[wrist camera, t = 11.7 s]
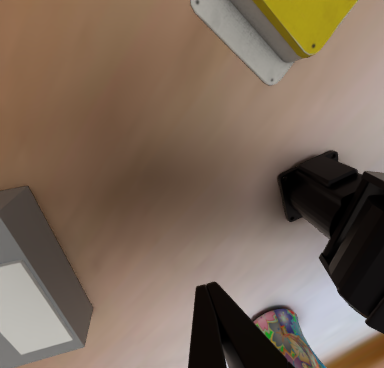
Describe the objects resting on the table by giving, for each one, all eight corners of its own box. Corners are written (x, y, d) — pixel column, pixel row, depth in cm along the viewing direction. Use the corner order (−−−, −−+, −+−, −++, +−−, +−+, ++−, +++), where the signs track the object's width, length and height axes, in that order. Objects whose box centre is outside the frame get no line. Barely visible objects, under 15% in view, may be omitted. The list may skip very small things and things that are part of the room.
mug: (292, 330, 36) (345, 416, 27) (242, 346, 35) (279, 443, 25) (300, 283, 31) (370, 371, 21) (241, 301, 29) (287, 402, 20)
